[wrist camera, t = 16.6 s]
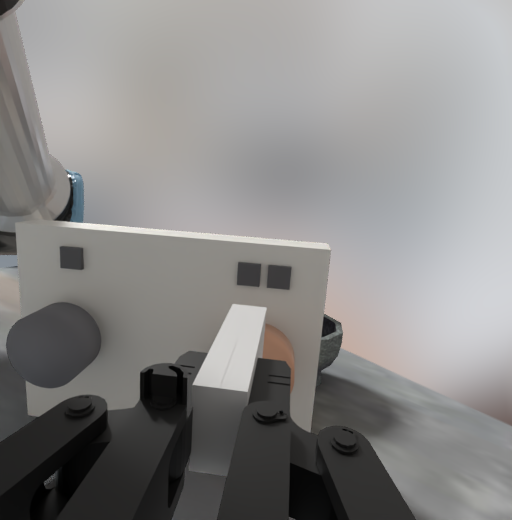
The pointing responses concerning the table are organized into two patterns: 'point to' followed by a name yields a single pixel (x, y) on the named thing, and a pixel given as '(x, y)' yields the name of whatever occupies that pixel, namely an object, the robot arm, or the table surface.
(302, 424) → the button panel
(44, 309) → the charcoal button
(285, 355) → the terracotta button
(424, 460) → the table surface
